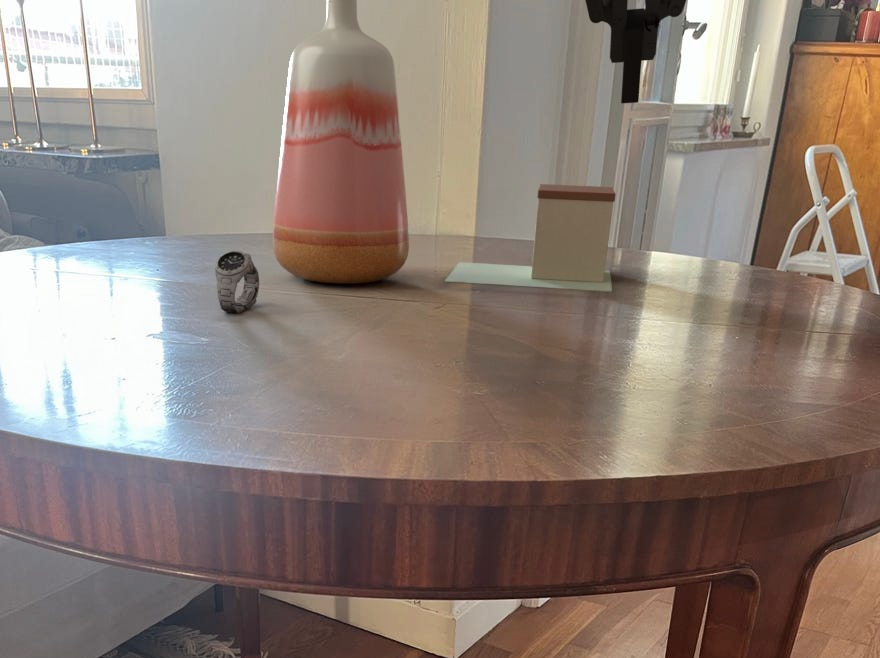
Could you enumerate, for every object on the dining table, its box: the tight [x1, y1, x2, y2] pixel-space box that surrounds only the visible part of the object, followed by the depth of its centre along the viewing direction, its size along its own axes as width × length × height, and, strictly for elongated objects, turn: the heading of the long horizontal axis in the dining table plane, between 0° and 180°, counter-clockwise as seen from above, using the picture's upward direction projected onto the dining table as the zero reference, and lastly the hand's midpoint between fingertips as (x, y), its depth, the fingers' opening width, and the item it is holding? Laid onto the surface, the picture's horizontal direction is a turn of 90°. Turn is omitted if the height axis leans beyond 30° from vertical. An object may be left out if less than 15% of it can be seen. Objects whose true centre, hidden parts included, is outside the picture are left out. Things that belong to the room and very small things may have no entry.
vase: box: [272, 0, 410, 285], centre depth 96 cm, size 14×14×30 cm
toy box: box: [531, 183, 616, 282], centre depth 107 cm, size 8×8×9 cm
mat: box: [443, 261, 613, 293], centre depth 108 cm, size 18×14×1 cm
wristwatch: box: [214, 250, 260, 314], centre depth 86 cm, size 4×6×5 cm, turn 164°
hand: (630, 92), depth 84 cm, fingers closed
